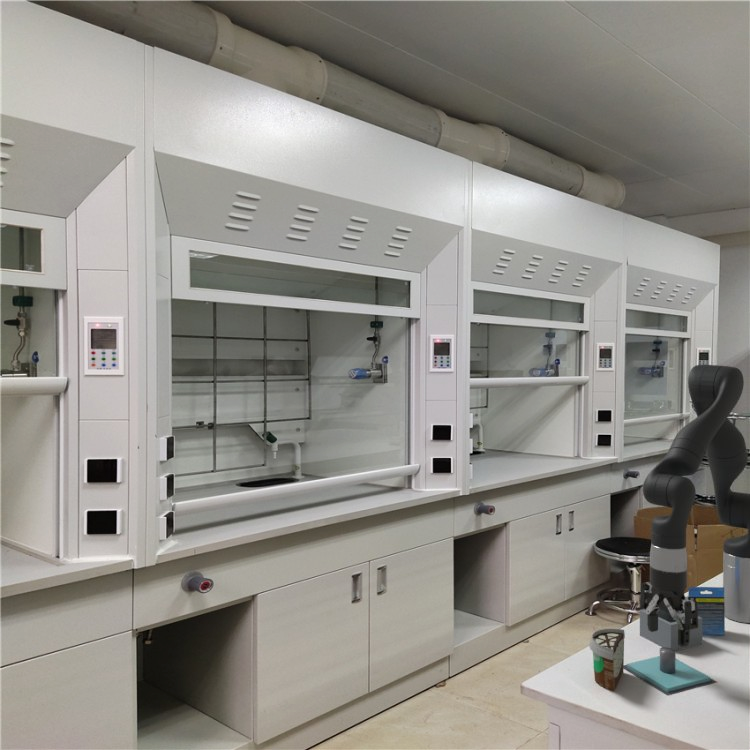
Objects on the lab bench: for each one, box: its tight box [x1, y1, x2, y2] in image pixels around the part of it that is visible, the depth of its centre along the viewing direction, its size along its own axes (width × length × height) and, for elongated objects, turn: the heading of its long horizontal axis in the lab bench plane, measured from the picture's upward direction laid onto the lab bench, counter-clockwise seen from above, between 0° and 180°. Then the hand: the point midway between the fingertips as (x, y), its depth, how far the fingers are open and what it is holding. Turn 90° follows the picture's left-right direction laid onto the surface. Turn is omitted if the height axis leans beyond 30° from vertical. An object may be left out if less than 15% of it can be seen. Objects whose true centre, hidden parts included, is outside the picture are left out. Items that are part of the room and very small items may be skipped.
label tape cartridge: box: [685, 586, 726, 636], centre depth 175 cm, size 9×4×12 cm, turn 84°
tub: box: [639, 609, 703, 652], centre depth 169 cm, size 10×10×7 cm
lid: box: [626, 647, 711, 692], centre depth 152 cm, size 12×12×5 cm
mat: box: [623, 664, 718, 696], centre depth 152 cm, size 14×14×1 cm
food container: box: [588, 628, 626, 692], centre depth 150 cm, size 12×6×10 cm, turn 149°
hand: (667, 638), depth 152 cm, fingers open, 8 cm apart
